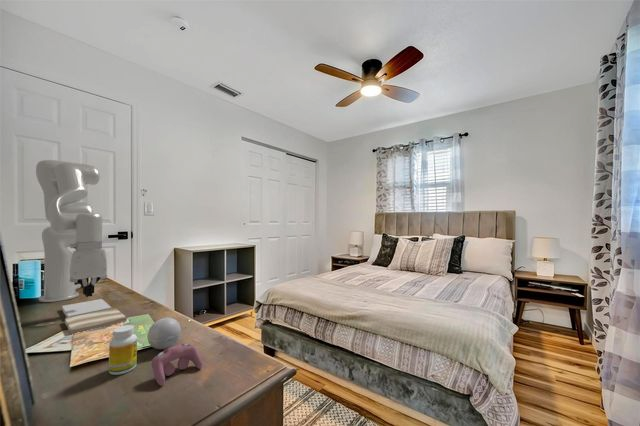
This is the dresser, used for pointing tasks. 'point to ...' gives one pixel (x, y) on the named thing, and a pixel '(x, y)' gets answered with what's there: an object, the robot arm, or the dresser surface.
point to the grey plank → (85, 308)
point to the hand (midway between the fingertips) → (88, 295)
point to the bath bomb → (164, 333)
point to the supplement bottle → (122, 350)
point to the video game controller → (180, 351)
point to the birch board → (94, 320)
